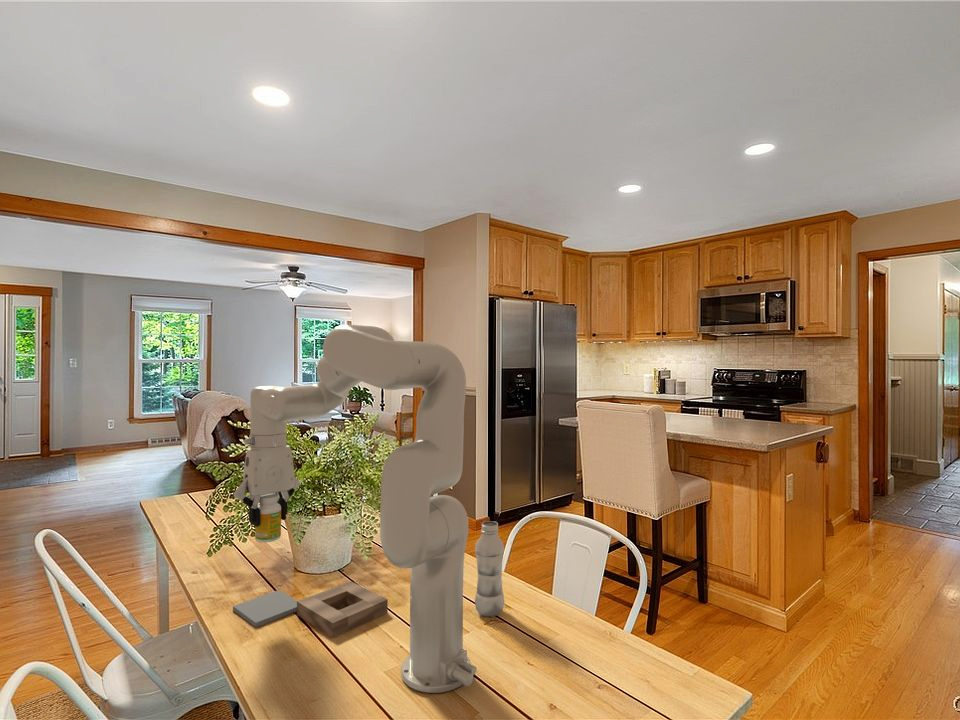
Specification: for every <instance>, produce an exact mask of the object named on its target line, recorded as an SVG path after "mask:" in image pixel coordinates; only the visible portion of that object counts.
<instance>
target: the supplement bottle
mask: <svg viewBox="0 0 960 720" xmlns="http://www.w3.org/2000/svg"><path fill="white" fill-rule="evenodd" d="M278 500H279V497H278V494H277V493H272V494H267V495H262V496H261V497H260V500H259V503H258V508H260V525H259V526H258V527H256V526H254V529H255V530H254V540H255V541H256V542H258V543H272V542H273V543H274V542H277V540H279V539H280V538H281V536H282V519H281V505H280V504H278V503H277V502H278Z"/></svg>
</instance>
